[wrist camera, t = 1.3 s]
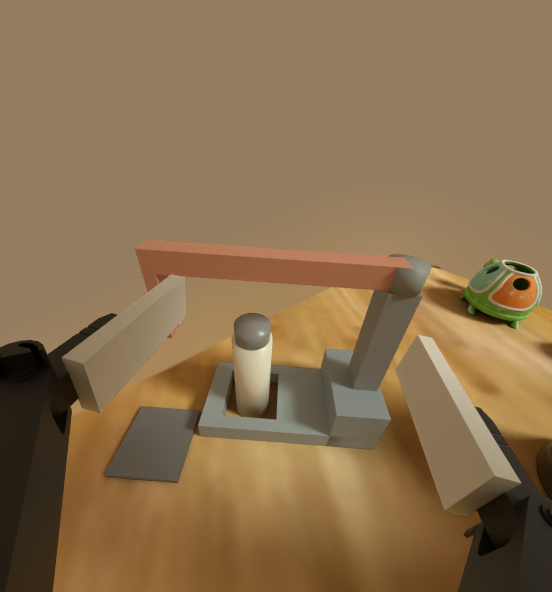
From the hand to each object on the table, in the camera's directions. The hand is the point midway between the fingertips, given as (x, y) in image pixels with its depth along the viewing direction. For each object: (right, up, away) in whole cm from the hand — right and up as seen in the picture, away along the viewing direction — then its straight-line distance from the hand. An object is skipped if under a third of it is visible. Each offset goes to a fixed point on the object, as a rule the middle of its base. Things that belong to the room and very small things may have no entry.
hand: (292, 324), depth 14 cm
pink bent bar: (-1, -3, +14) cm, 14 cm away
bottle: (-4, -14, +21) cm, 25 cm away
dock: (+1, -14, +21) cm, 25 cm away
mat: (-16, -16, +16) cm, 28 cm away
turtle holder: (+51, -1, +45) cm, 68 cm away
